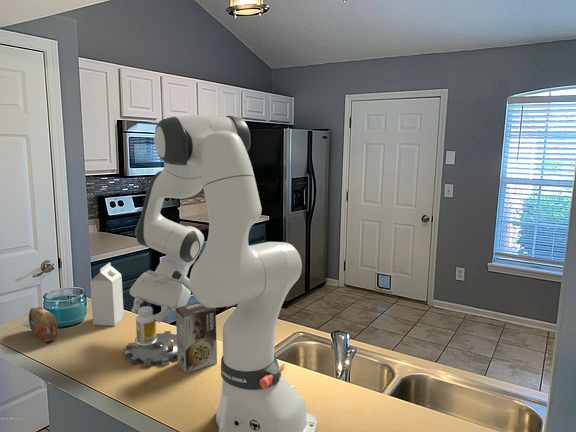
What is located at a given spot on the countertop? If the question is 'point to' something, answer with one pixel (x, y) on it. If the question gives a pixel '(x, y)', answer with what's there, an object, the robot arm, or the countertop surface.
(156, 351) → the sprocket
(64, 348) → the countertop surface
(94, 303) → the milk carton
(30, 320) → the tin
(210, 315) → the coffee box
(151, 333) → the supplement bottle
